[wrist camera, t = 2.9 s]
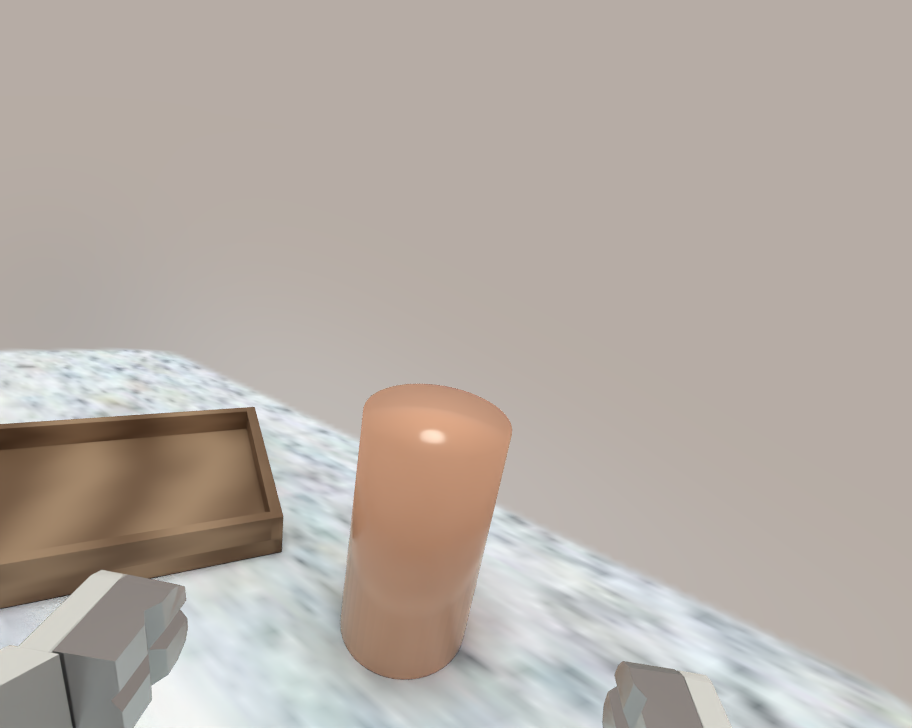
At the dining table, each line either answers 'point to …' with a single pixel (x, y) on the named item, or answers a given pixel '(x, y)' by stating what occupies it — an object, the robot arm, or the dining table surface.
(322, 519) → the dining table surface
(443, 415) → the peach cylinder
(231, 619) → the dining table surface
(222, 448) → the tray
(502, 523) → the dining table surface
